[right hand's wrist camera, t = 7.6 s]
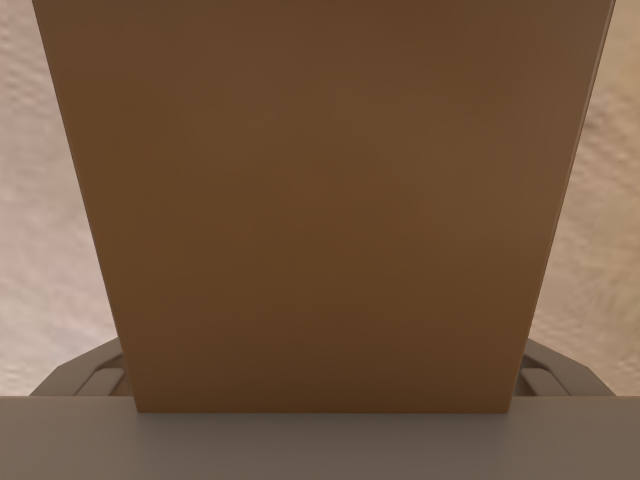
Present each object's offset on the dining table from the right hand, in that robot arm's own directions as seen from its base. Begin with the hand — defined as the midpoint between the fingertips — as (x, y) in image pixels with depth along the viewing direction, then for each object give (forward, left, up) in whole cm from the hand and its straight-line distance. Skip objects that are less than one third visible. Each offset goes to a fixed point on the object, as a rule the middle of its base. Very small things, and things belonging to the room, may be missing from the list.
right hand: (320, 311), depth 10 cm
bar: (0, +9, -3) cm, 9 cm away
